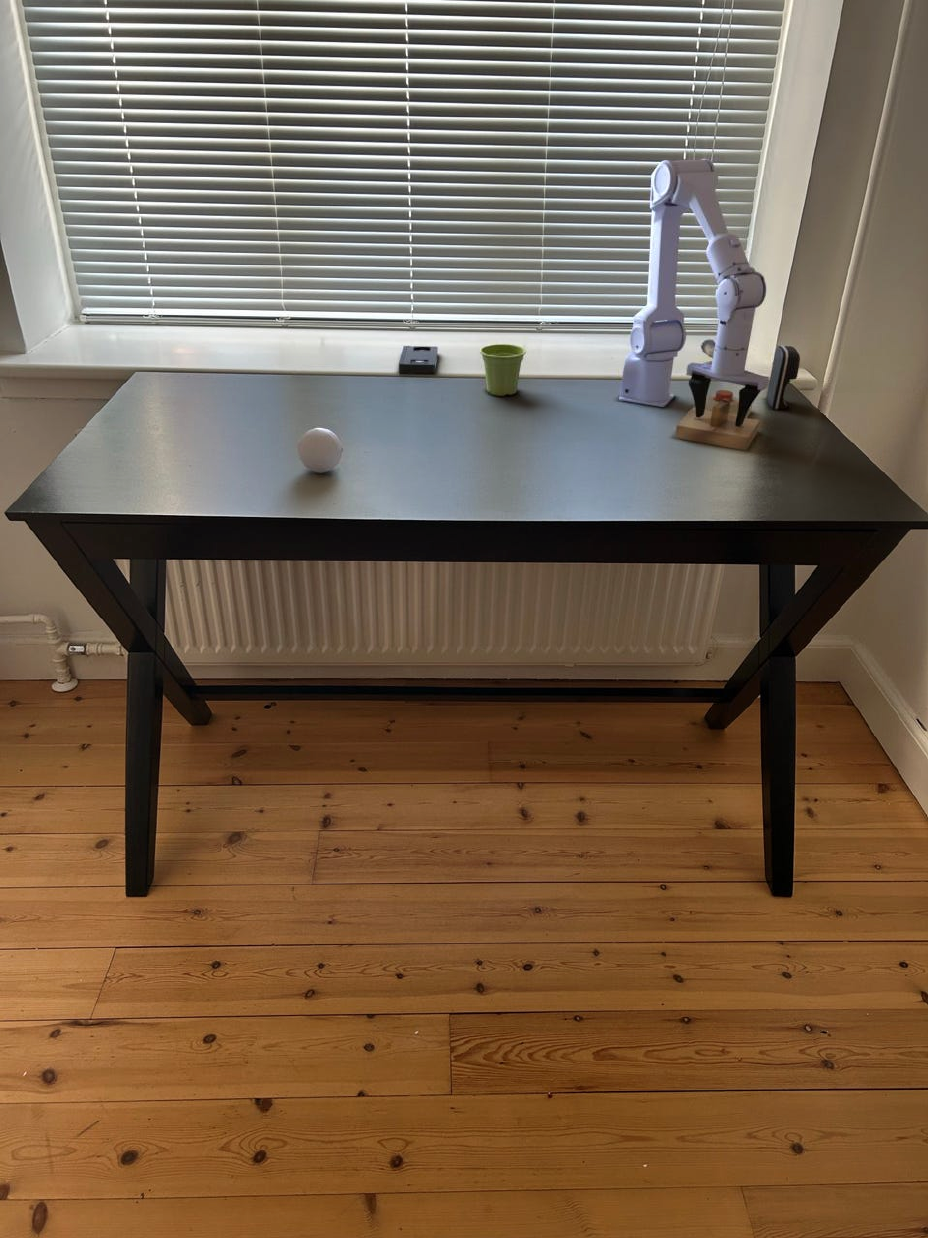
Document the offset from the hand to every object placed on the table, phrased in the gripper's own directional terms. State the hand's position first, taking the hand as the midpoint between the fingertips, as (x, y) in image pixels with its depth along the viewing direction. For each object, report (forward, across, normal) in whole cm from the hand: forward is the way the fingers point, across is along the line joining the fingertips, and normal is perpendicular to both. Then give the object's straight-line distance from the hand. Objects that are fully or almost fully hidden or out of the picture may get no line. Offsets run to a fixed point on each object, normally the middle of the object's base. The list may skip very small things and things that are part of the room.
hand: (719, 420), depth 162 cm
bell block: (+3, +4, -12) cm, 12 cm away
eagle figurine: (+3, +16, -37) cm, 40 cm away
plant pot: (+3, +46, +4) cm, 46 cm away
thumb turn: (0, 0, 0) cm, 0 cm away
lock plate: (+3, 0, 0) cm, 3 cm away
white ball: (+3, +48, +56) cm, 73 cm away
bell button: (0, +4, -11) cm, 12 cm away
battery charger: (+3, -3, -24) cm, 24 cm away
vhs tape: (+3, +72, -1) cm, 72 cm away
